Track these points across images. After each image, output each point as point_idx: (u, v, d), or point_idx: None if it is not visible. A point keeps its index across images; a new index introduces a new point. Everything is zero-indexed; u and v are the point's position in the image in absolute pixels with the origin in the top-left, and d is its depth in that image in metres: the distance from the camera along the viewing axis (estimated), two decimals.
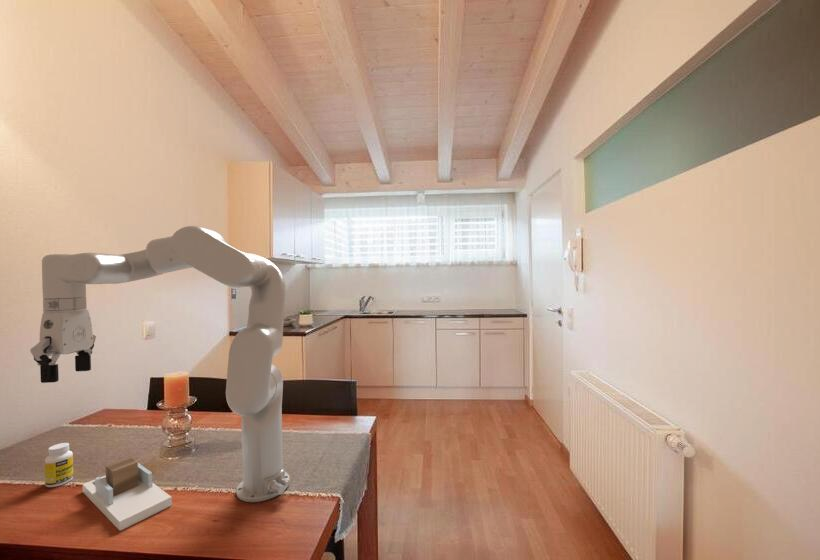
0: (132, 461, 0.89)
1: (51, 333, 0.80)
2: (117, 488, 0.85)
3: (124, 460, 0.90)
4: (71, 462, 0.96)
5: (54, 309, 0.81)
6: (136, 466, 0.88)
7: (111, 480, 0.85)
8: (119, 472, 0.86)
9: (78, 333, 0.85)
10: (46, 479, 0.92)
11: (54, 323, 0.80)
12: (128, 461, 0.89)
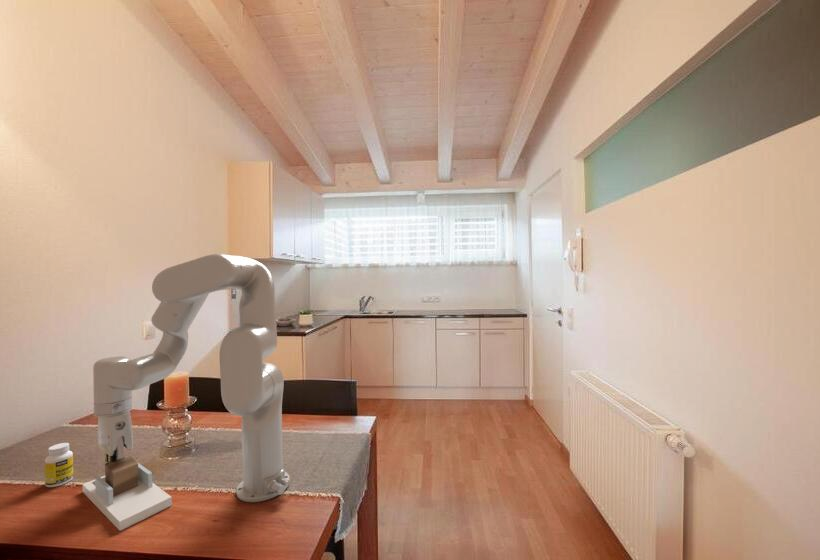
0: (132, 462, 0.88)
1: (124, 438, 0.88)
2: (117, 489, 0.85)
3: (124, 460, 0.89)
4: (71, 462, 0.96)
5: (120, 411, 0.89)
6: (136, 467, 0.88)
7: (111, 481, 0.85)
8: (120, 473, 0.85)
9: None
10: (46, 479, 0.92)
11: (126, 423, 0.89)
12: (129, 461, 0.89)
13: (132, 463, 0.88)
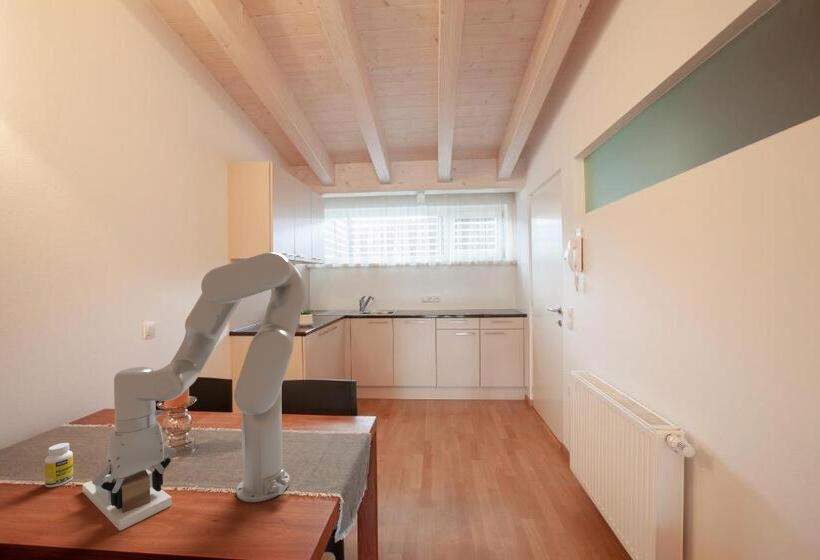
0: (144, 475, 0.82)
1: None
2: (127, 504, 0.79)
3: (138, 473, 0.83)
4: (71, 462, 0.96)
5: None
6: (148, 481, 0.82)
7: None
8: (129, 487, 0.79)
9: None
10: (46, 479, 0.92)
11: None
12: (141, 474, 0.83)
13: (144, 476, 0.82)
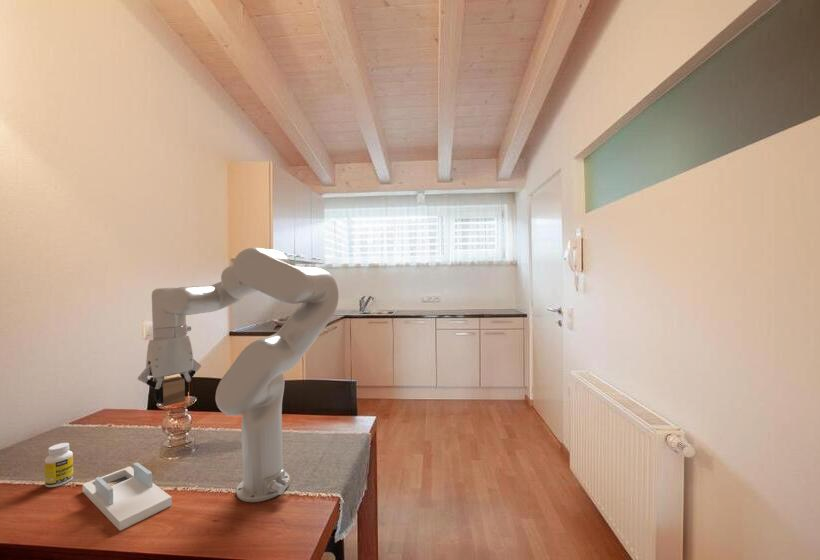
0: (179, 378, 0.97)
1: None
2: (167, 400, 0.94)
3: (173, 378, 0.98)
4: (71, 462, 0.96)
5: None
6: (183, 383, 0.96)
7: None
8: (168, 385, 0.94)
9: None
10: (46, 479, 0.92)
11: None
12: (177, 378, 0.97)
13: (179, 379, 0.97)
